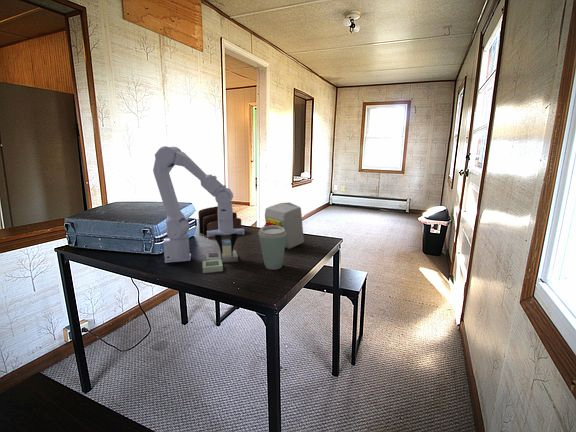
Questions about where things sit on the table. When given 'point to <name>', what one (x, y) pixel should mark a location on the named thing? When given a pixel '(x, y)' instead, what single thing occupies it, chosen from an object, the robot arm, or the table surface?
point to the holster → (212, 266)
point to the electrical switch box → (286, 222)
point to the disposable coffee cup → (272, 245)
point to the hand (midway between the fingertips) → (226, 252)
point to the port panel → (224, 258)
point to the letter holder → (213, 221)
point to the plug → (226, 248)
